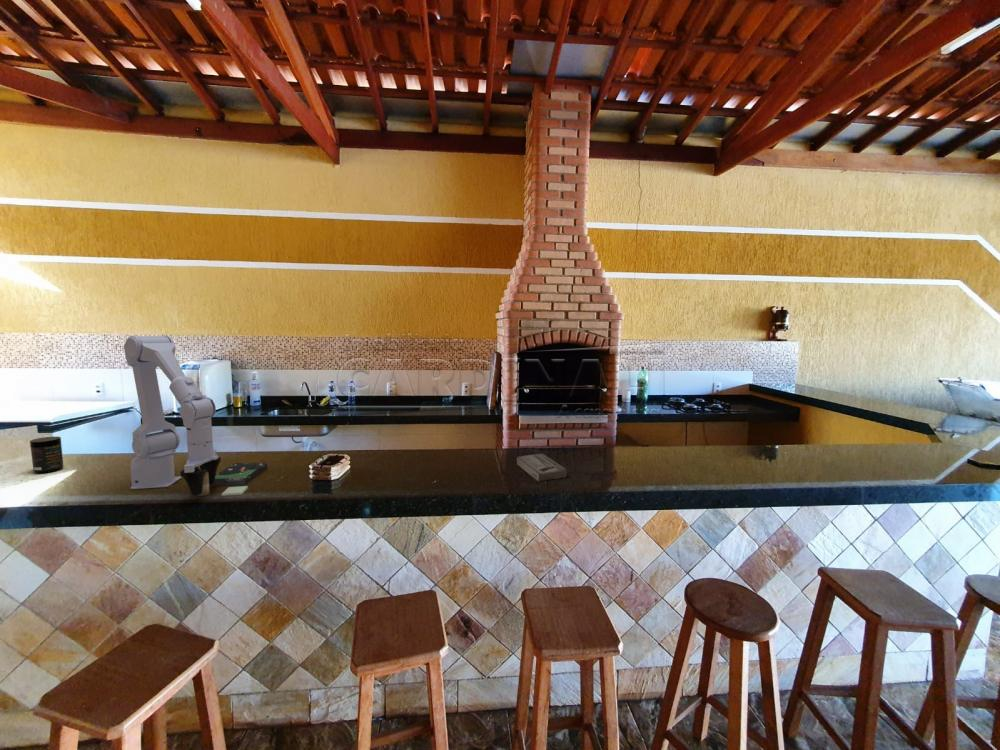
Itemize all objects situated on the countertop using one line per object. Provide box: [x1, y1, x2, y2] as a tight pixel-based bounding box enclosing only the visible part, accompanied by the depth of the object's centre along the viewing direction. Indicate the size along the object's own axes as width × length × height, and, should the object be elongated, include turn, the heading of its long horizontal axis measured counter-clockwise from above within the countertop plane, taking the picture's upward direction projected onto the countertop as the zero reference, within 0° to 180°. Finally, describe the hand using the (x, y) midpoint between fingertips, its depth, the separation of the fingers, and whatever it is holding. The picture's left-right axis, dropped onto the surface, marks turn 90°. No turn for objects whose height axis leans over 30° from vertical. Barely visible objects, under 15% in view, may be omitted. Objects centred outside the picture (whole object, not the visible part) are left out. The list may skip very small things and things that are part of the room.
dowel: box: [197, 472, 210, 497], centre depth 117 cm, size 3×3×6 cm
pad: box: [221, 485, 249, 497], centre depth 119 cm, size 5×5×1 cm
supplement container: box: [29, 436, 65, 475], centre depth 133 cm, size 7×7×10 cm
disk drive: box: [209, 462, 268, 487], centre depth 131 cm, size 10×3×15 cm
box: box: [516, 452, 568, 482], centre depth 141 cm, size 11×17×3 cm, turn 22°
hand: (203, 488), depth 117 cm, fingers open, 7 cm apart
